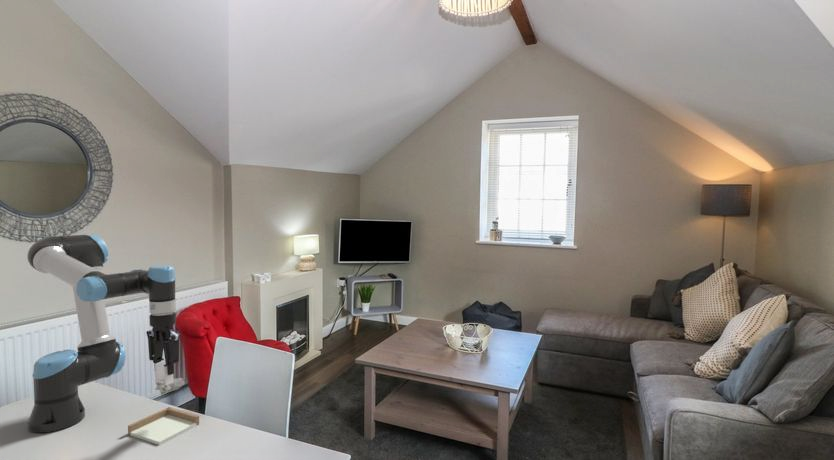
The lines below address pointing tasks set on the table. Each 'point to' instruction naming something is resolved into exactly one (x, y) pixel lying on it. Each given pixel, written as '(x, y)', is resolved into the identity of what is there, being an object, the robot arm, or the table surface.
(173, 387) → the stone
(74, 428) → the table surface
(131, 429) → the corner
